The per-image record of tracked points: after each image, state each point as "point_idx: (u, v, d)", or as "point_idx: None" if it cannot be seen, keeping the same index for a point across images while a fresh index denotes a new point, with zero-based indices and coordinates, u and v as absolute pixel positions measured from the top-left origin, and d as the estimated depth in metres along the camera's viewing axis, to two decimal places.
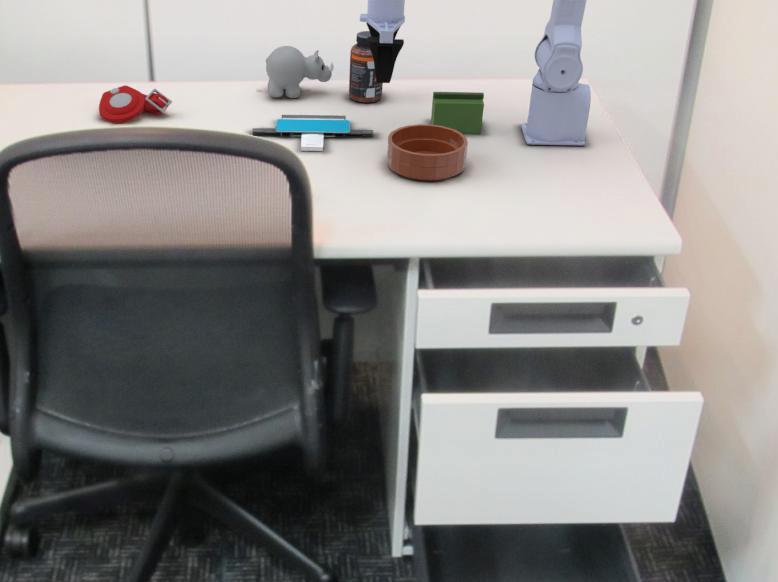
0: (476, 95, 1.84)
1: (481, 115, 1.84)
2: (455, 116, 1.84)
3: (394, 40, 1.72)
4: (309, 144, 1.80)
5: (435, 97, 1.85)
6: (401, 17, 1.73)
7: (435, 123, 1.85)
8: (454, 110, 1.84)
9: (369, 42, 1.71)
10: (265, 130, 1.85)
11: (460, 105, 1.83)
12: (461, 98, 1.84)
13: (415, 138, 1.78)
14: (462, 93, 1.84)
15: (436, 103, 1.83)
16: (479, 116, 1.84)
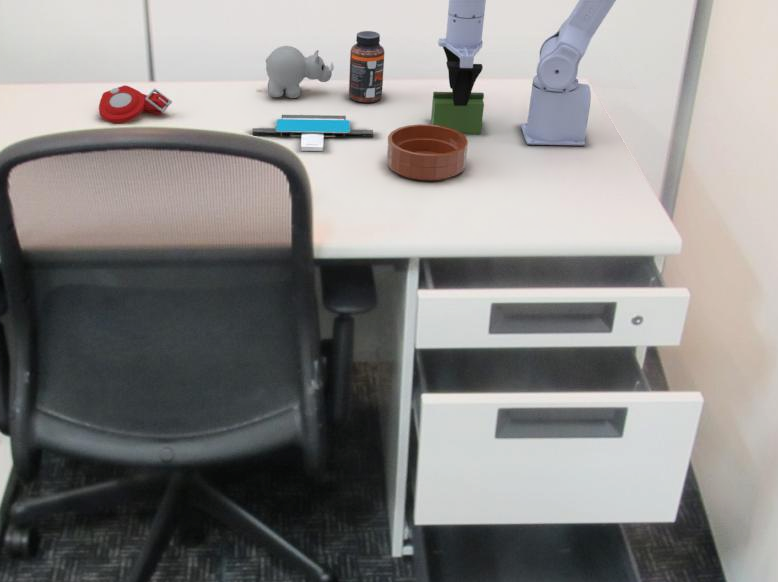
0: (476, 95, 1.84)
1: (481, 115, 1.84)
2: (455, 116, 1.84)
3: (473, 65, 1.77)
4: (309, 144, 1.80)
5: (435, 97, 1.85)
6: (479, 42, 1.78)
7: (435, 123, 1.85)
8: (454, 110, 1.84)
9: (449, 67, 1.76)
10: (265, 130, 1.85)
11: None
12: None
13: (415, 138, 1.78)
14: None
15: (436, 103, 1.83)
16: (479, 116, 1.84)
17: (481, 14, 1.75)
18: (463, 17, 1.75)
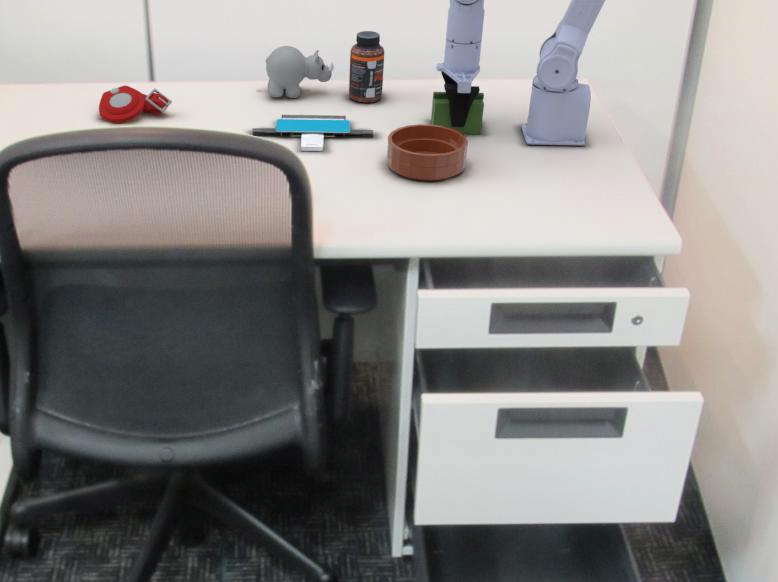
0: None
1: (481, 116, 1.84)
2: None
3: None
4: (309, 144, 1.80)
5: (435, 97, 1.84)
6: (477, 67, 1.80)
7: (435, 123, 1.85)
8: None
9: (446, 89, 1.79)
10: (265, 130, 1.85)
11: None
12: None
13: (415, 138, 1.78)
14: None
15: (436, 103, 1.83)
16: (479, 116, 1.84)
17: (478, 40, 1.78)
18: (461, 43, 1.77)
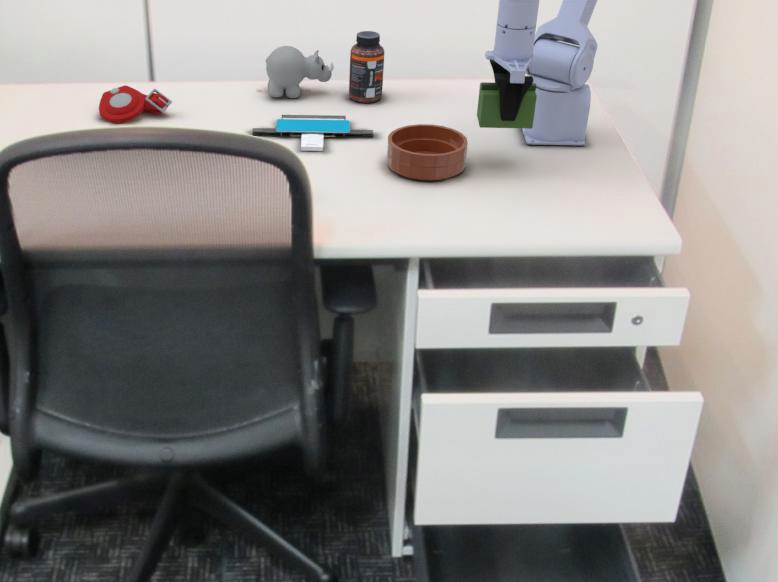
0: None
1: (533, 108, 1.68)
2: None
3: None
4: (309, 144, 1.80)
5: (483, 88, 1.69)
6: (530, 55, 1.65)
7: (482, 117, 1.69)
8: None
9: (497, 79, 1.64)
10: (265, 130, 1.85)
11: None
12: None
13: (415, 138, 1.78)
14: None
15: (484, 95, 1.67)
16: (531, 109, 1.68)
17: None
18: (514, 28, 1.61)
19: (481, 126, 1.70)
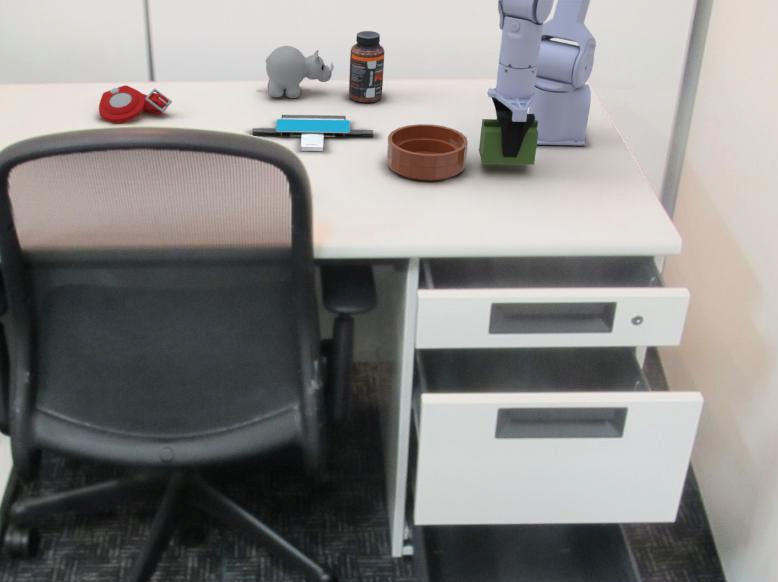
0: None
1: (534, 145, 1.70)
2: None
3: None
4: (309, 144, 1.80)
5: (485, 125, 1.70)
6: (532, 93, 1.66)
7: (485, 153, 1.71)
8: None
9: (499, 117, 1.65)
10: (265, 130, 1.85)
11: None
12: None
13: (415, 138, 1.78)
14: None
15: (486, 132, 1.69)
16: (533, 145, 1.70)
17: None
18: (516, 67, 1.63)
19: (483, 162, 1.72)
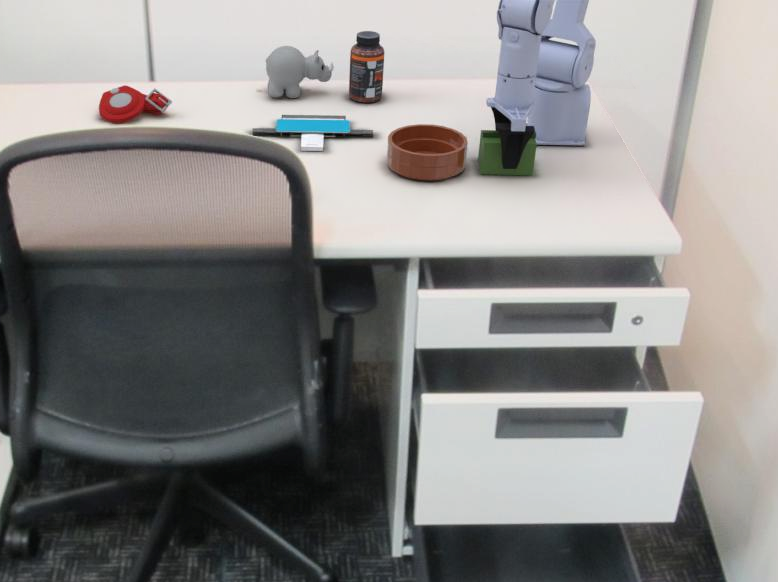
0: None
1: (533, 156, 1.71)
2: None
3: (524, 127, 1.66)
4: (309, 144, 1.80)
5: (484, 136, 1.71)
6: (531, 102, 1.67)
7: (483, 164, 1.72)
8: None
9: (499, 129, 1.65)
10: (265, 130, 1.85)
11: None
12: None
13: (415, 138, 1.78)
14: None
15: (485, 143, 1.70)
16: (531, 156, 1.71)
17: None
18: (514, 77, 1.64)
19: (482, 173, 1.73)
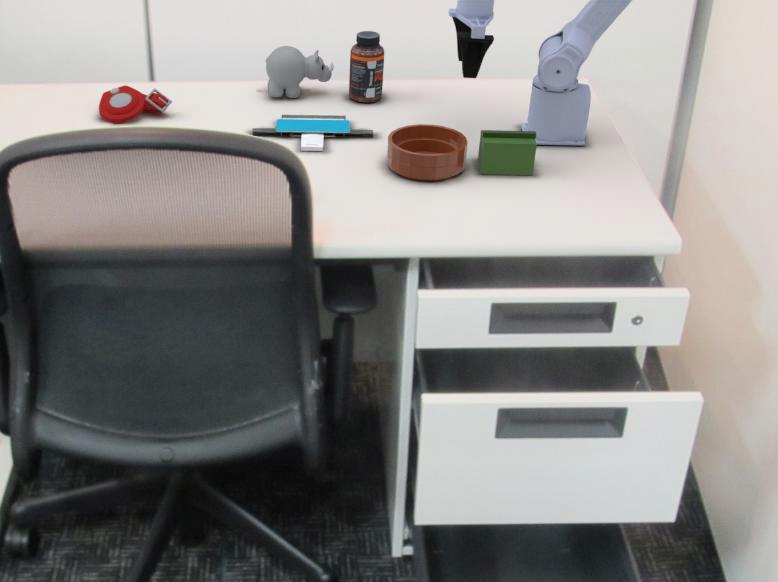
0: (528, 134, 1.71)
1: (533, 156, 1.71)
2: (505, 157, 1.71)
3: None
4: (309, 144, 1.80)
5: (484, 136, 1.71)
6: (491, 13, 1.75)
7: (483, 164, 1.72)
8: (504, 150, 1.70)
9: (460, 37, 1.72)
10: (265, 130, 1.85)
11: (511, 145, 1.70)
12: (512, 137, 1.71)
13: (415, 138, 1.78)
14: (513, 132, 1.71)
15: (485, 143, 1.70)
16: (531, 156, 1.71)
17: None
18: None
19: (482, 173, 1.73)
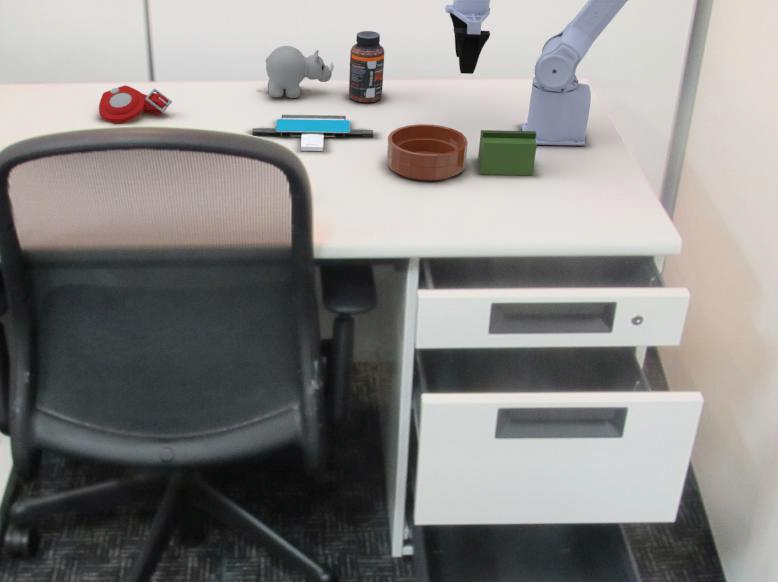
0: (528, 134, 1.71)
1: (533, 156, 1.71)
2: (505, 157, 1.71)
3: (480, 31, 1.75)
4: (309, 144, 1.80)
5: (484, 136, 1.71)
6: (487, 9, 1.76)
7: (483, 164, 1.72)
8: (504, 150, 1.70)
9: (456, 33, 1.74)
10: (265, 130, 1.85)
11: (511, 145, 1.70)
12: (512, 137, 1.71)
13: (415, 138, 1.78)
14: (513, 132, 1.71)
15: (485, 143, 1.70)
16: (531, 156, 1.71)
17: None
18: None
19: (482, 173, 1.73)
